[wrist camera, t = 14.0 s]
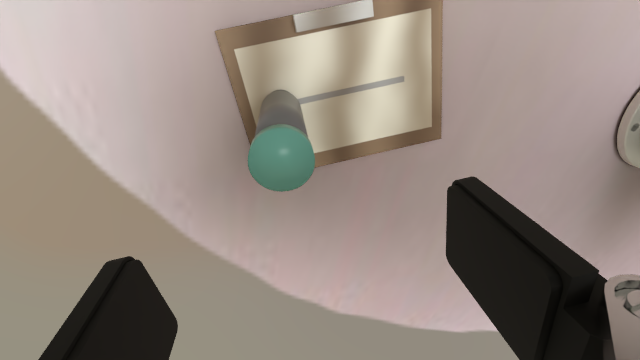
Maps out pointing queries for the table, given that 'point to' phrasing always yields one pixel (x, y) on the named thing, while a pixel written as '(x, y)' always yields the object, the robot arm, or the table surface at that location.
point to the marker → (281, 144)
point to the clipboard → (345, 73)
